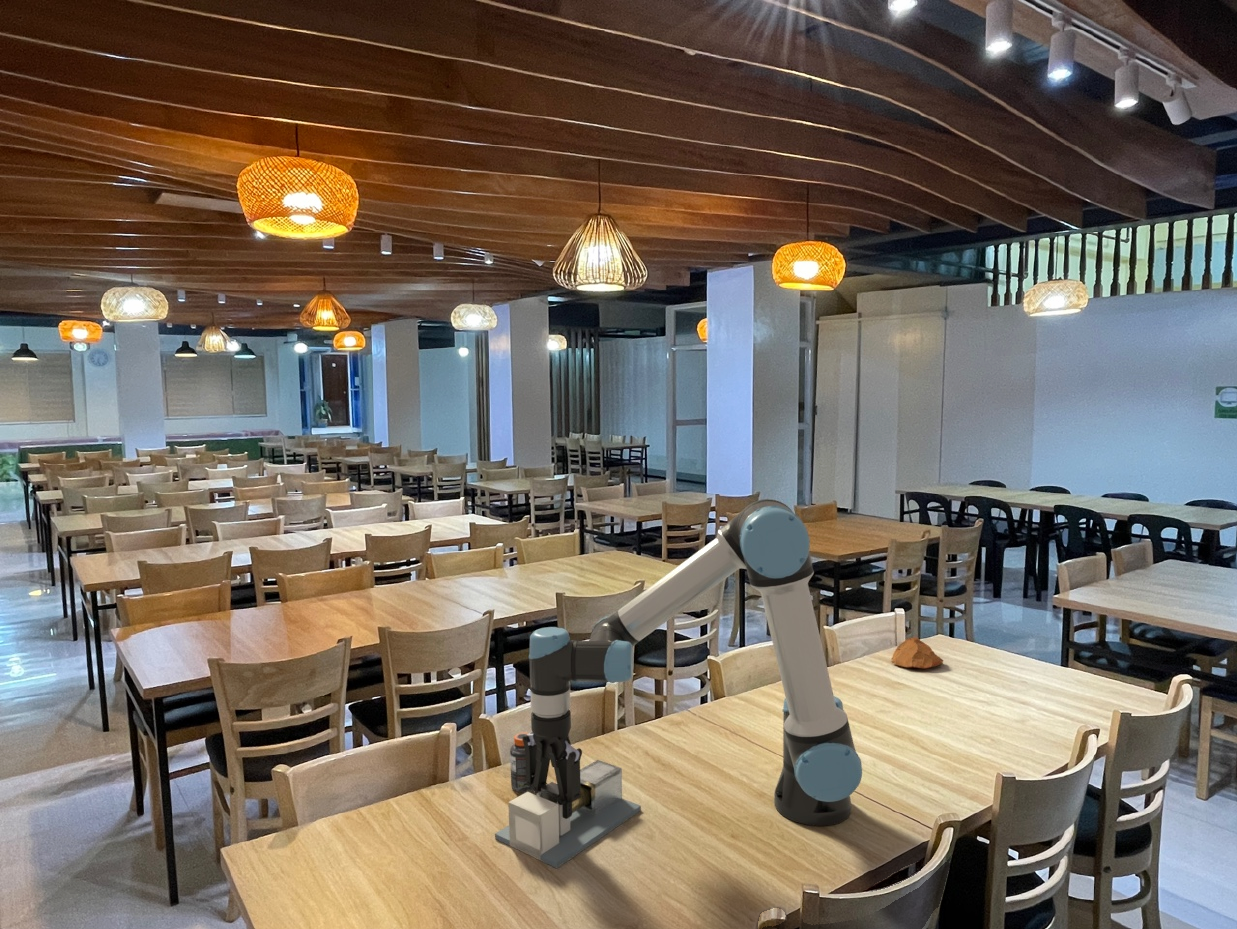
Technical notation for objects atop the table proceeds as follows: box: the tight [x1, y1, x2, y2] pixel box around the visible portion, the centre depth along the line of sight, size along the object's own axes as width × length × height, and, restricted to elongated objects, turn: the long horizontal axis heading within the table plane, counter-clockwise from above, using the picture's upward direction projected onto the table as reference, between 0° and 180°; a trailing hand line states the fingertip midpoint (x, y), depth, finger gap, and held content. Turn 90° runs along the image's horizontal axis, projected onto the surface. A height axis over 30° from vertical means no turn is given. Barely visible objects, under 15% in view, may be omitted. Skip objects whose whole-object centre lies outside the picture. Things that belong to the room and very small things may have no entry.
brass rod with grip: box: [541, 781, 592, 813], centre depth 156 cm, size 4×15×7 cm, turn 142°
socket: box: [508, 791, 559, 862], centre depth 150 cm, size 8×5×8 cm, turn 52°
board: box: [494, 798, 642, 869], centre depth 158 cm, size 16×25×1 cm, turn 142°
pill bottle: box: [509, 732, 534, 793], centre depth 173 cm, size 6×6×11 cm
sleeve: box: [580, 759, 623, 816], centre depth 164 cm, size 6×8×6 cm
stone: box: [891, 636, 944, 669], centre depth 248 cm, size 15×15×10 cm
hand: (553, 827), depth 154 cm, fingers open, 5 cm apart
